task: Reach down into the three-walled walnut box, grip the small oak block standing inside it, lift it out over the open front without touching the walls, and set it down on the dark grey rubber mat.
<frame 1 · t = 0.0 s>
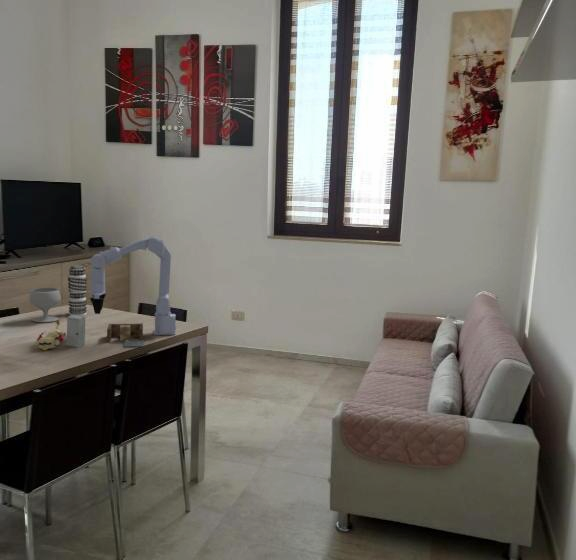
hand: (98, 311, 244), 10 cm above the table, tool pointing down, fingers open, 7 cm apart
mat: (134, 344, 232), on the table
walnut box: (125, 339, 239), on the table
chalice: (45, 320, 267), on the table
cat figure: (52, 344, 229), on the table
oak block: (125, 332, 239), in the walnut box
decorative candle: (77, 314, 282), on the table
skincare box: (76, 345, 227), on the table
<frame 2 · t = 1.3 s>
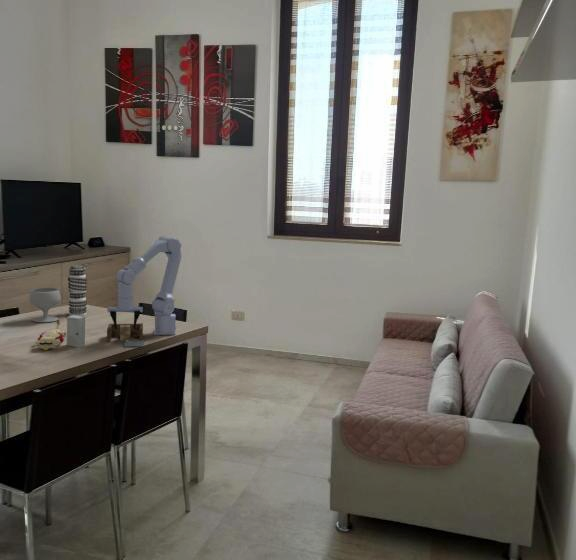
hand: (125, 328, 238), 5 cm above the table, tool pointing down, fingers open, 7 cm apart
nothing on the table moved.
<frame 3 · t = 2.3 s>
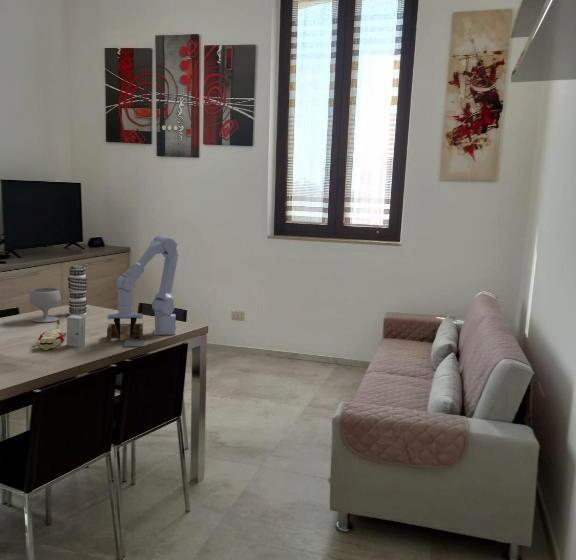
hand: (125, 335, 239), 2 cm above the table, tool pointing down, fingers closed on oak block, 4 cm apart
oak block: (125, 332, 239), in the walnut box, touching gripper
everything else where it was.
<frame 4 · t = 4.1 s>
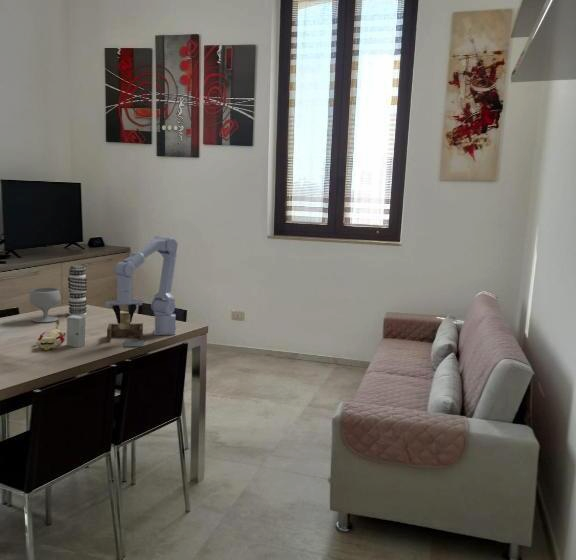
hand: (124, 322, 232), 9 cm above the table, tool pointing down, fingers closed on oak block, 4 cm apart
oak block: (124, 321, 232), point 10 cm above the table, touching gripper
everything else where it was.
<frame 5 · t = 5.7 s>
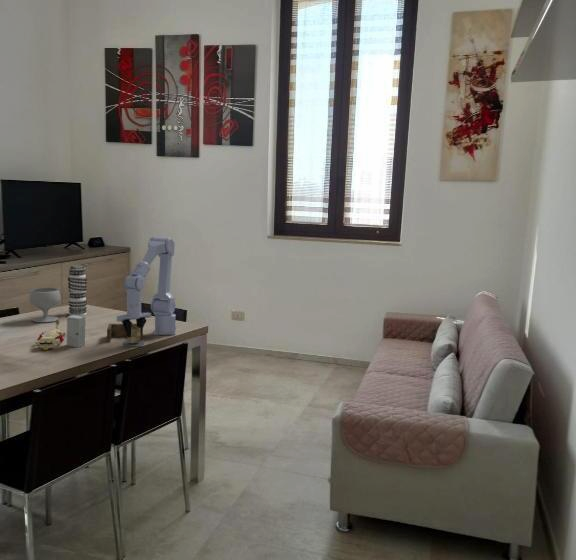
hand: (134, 336, 231), 4 cm above the table, tool pointing down, fingers closed on oak block, 4 cm apart
oak block: (133, 334, 231), point 4 cm above the table, touching gripper
everything else where it was.
when the fingers open (4 cm above the table, at t = 6.0 s): oak block stays where it is, resting on mat.
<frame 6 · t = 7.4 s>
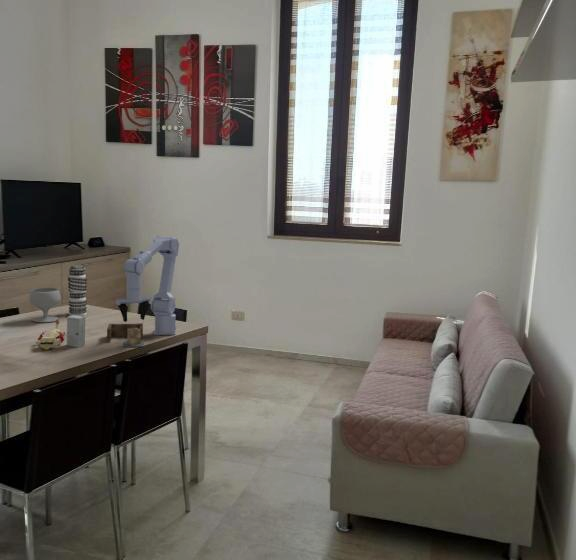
hand: (133, 320, 231), 10 cm above the table, tool pointing down, fingers open, 7 cm apart
oak block: (133, 336, 231), on the mat, point 4 cm above the table
everything else where it was.
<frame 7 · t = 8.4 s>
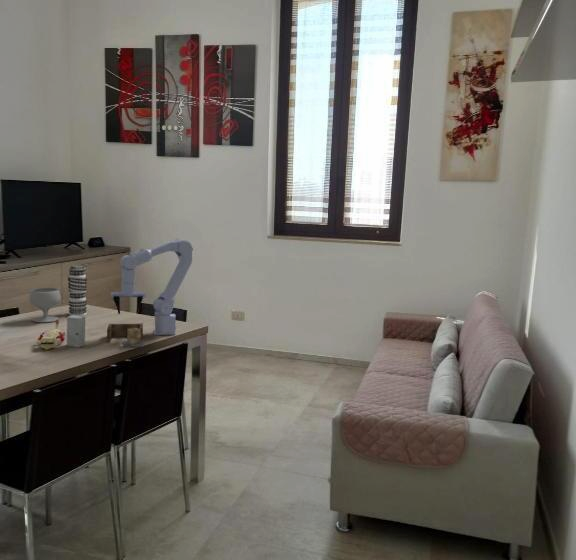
hand: (128, 313, 243), 10 cm above the table, tool pointing down, fingers open, 7 cm apart
nothing on the table moved.
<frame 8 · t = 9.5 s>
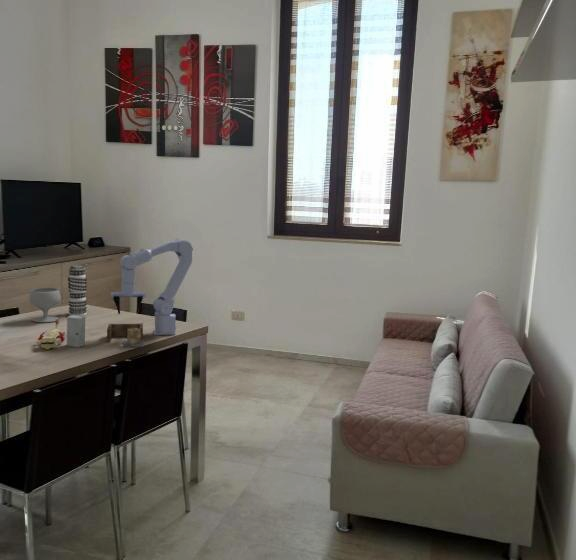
hand: (128, 313, 243), 10 cm above the table, tool pointing down, fingers open, 7 cm apart
nothing on the table moved.
at the end: oak block inside the target area on the mat (0.2 cm from its centre), point 3.6 cm above the mat's base; oak block tilted 0°; the gripper is holding nothing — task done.
